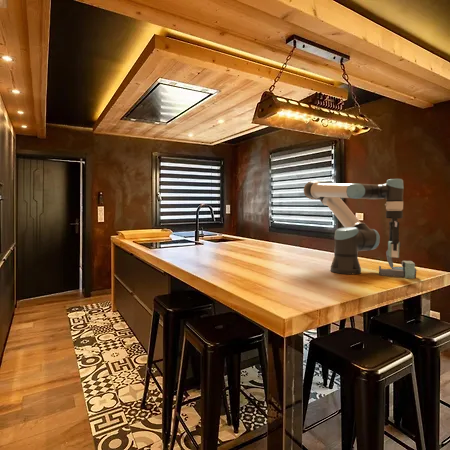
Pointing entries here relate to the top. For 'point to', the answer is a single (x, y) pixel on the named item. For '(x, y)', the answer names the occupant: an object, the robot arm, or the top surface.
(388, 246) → the grey green block
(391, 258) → the grey small pieces
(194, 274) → the top surface
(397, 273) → the grey green clamp
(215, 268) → the top surface
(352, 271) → the robot arm
